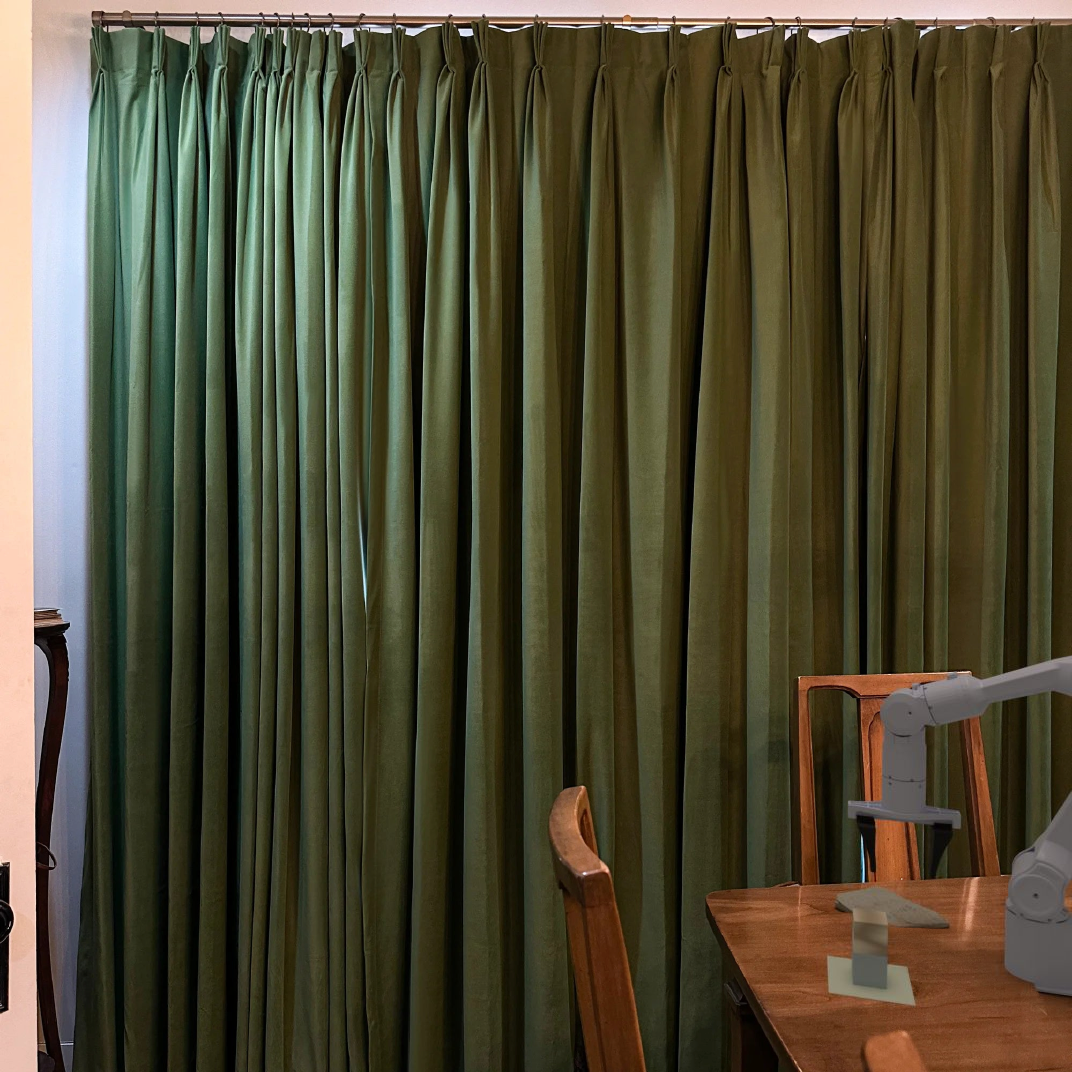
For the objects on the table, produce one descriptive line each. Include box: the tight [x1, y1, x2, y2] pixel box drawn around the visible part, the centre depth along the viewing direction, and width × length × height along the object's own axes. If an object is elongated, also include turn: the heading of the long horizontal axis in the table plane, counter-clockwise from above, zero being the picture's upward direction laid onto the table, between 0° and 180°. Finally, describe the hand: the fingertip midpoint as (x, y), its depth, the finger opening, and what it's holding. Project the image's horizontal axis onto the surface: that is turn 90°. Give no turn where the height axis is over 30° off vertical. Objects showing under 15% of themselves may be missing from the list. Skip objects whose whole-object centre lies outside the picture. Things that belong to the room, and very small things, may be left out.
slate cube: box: [851, 940, 888, 989], centre depth 116 cm, size 4×4×4 cm
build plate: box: [826, 955, 916, 1007], centre depth 116 cm, size 10×10×1 cm
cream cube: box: [851, 908, 889, 958], centre depth 116 cm, size 4×4×4 cm
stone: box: [834, 885, 951, 929], centre depth 136 cm, size 15×11×3 cm
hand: (902, 873), depth 127 cm, fingers open, 7 cm apart
